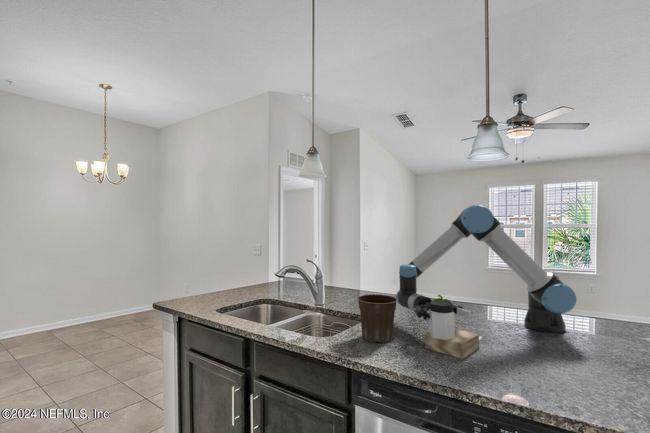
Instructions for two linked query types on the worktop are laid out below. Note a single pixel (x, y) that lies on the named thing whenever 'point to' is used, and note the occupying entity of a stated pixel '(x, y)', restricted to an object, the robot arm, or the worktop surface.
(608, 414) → the worktop surface
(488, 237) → the robot arm
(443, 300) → the bell pepper
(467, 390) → the worktop surface
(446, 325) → the jar
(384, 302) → the plant pot
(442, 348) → the maple block
